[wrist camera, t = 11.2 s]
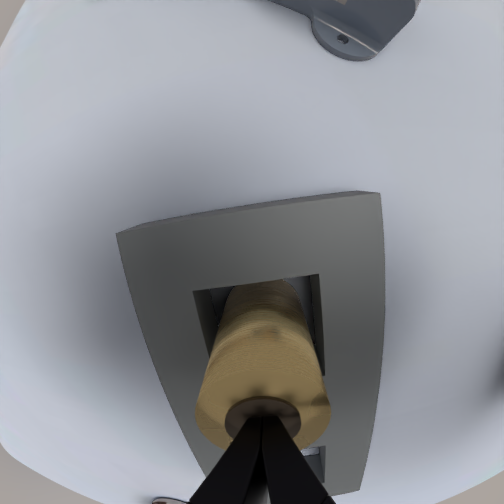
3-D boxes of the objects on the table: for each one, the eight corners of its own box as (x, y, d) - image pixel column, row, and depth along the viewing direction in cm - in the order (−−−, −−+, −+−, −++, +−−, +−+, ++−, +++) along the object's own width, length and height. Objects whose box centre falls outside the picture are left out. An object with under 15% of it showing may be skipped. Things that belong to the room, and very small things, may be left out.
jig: (356, 190, 13) (380, 192, 11) (352, 464, 18) (359, 490, 15) (142, 223, 14) (115, 233, 11) (225, 478, 19) (222, 504, 16)
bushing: (296, 269, 15) (332, 364, 7) (304, 337, 15) (331, 453, 7) (219, 280, 15) (176, 380, 7) (232, 346, 16) (212, 463, 8)
